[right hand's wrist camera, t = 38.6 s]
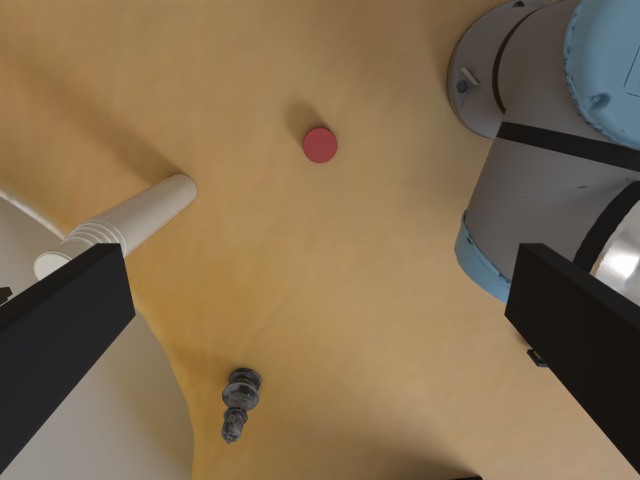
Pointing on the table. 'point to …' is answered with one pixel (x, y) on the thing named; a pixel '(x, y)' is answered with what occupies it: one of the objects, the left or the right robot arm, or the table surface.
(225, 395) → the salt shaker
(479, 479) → the cardboard box
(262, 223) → the table surface
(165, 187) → the bottle
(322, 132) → the cap
